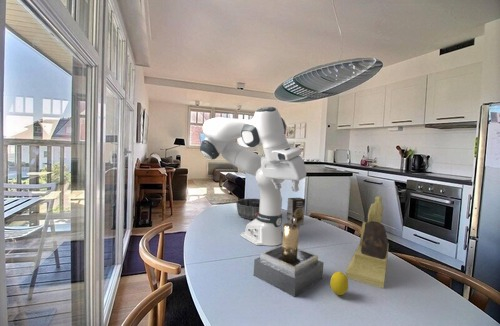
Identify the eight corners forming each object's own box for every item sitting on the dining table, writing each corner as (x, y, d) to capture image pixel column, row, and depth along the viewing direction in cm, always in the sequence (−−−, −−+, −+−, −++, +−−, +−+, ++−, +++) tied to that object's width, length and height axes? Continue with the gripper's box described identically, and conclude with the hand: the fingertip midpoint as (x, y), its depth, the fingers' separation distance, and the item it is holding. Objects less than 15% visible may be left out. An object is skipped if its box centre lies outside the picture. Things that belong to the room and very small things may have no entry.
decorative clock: (356, 252, 121) (361, 189, 119) (387, 260, 115) (393, 193, 112) (345, 277, 97) (351, 198, 95) (383, 288, 90) (391, 204, 88)
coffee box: (292, 226, 156) (293, 199, 155) (285, 223, 162) (287, 197, 160) (304, 224, 160) (305, 199, 159) (297, 221, 166) (299, 197, 165)
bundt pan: (226, 215, 173) (227, 200, 172) (255, 209, 191) (255, 196, 190) (253, 225, 154) (254, 209, 153) (282, 218, 172) (283, 203, 171)
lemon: (326, 290, 87) (328, 267, 87) (342, 290, 88) (344, 267, 87) (333, 300, 82) (335, 275, 81) (350, 300, 82) (352, 276, 82)
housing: (253, 275, 95) (254, 252, 94) (283, 261, 108) (284, 241, 107) (294, 297, 82) (296, 271, 82) (322, 278, 95) (324, 255, 95)
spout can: (278, 259, 94) (281, 216, 93) (287, 255, 99) (289, 214, 97) (290, 265, 91) (294, 220, 90) (299, 260, 95) (302, 217, 94)
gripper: (253, 156, 98) (263, 190, 100) (290, 155, 80) (300, 196, 83) (266, 151, 101) (275, 184, 103) (304, 149, 84) (313, 188, 86)
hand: (286, 189), depth 93 cm, fingers open, 8 cm apart
